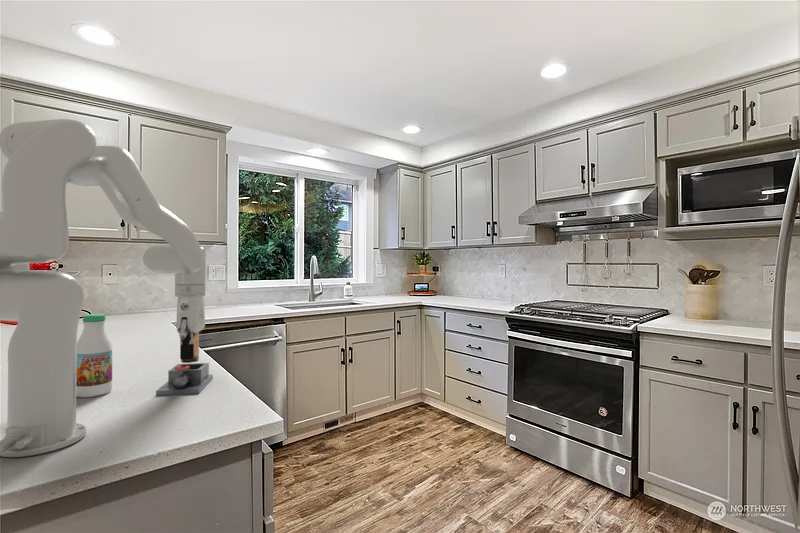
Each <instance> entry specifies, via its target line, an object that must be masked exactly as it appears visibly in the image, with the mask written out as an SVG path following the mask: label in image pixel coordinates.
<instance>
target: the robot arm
mask: <svg viewBox="0 0 800 533" xmlns="http://www.w3.org/2000/svg"><path fill="white" fill-rule="evenodd" d="M0 151H1V152H2V154H3V155H4V156H5V157H6V159H8V160H7V162H6V164H5V165H4V168H3V172H2V177H1V196H2V211H0V321H7V322H17V323H16V326H15V329H14V330H13V332H12V334H11V338H10V340H9V343H8V348H7V428H4V429H5V430H4V431H5V432H4V433H5V435H4V437H3V438H1V439H0V457H3V458H20V457H21V458H22V457H30V456H36V455H41V454H45V453H49V452H54V451H58V450H59V449H62V448H65V447H69V446H70V445H73V444H75V443H77V442H78V441H80V440H81V439H83V438H84V437H85V436H86V433H87V427H86V426H85V425H84V424H82V423H77V397H76V371H77V342H78V328H79V323H80V318H81V314H82V310H83V306H84V301H85V299H84V298H85V293H84V289H83V287H82V285H81V283H80V282H79V280H77V279H76V278H75V277H73V276H71V275H70V274H67V273H65V272H62V271H56V270H48V269H47V270H46V269H45V270H41V269H40V270H39V269H37V270H36V269H31V268H30V264H45V263H52V262H55V261H59V260H60V259H62V258H64V257H65V256H66V254H67V252H68V250H69V247H70V235H69V227H68V226H69V224H68V214H67V203H66V202H67V201H66V190H67V189H66V188H67V184H71V185H75V186H80V187H81V186H82V187H95V186H98V187H100V188H101V190H102V191H103V193H104V194H105V196H106V197H107V198H108V200H109V201H110V203H111V205H112V206H113V208H114V209H115V211H116V212H117V214H118V216H119V218H121V219H122V221H124V222H125V223H127V224H129V225H131V226H133V227H136V228H138V229H141V230H143V231H146V232H149V233H150V234H154V235H156V236H158V237H159V238H161V239H163V240H164V241H165V242H166V243H159V244H154V245H151V246H150V247H148V248H146V250H145V251H144V253H143V254H142V255H143V256H142V261H143V264H144V266H145V267H146V269H148V270H149V271H151V272H154V273H156V274H174V297H177V304H176V320H175V322H176V332H177V334H178V336H179V344H180V348H179V349H180V353H179V357H180V360H181V359H193V358H194V344H192V342H193V332H194V333H197V332H199V333H200V332H201V331H203V330H204V329H205V327H206V317H205V313H206V312H205V299H204V297H205V296H206V274H207V273H206V271H207V270H206V268H207V266H206V261H207V260H206V259H207V258H206V256H207V254H206V250H205V247H202V246H201V245H200V243H199V240H198V239H197V236H196V235H195V233H194V232H193V230H192V229H191V228H190V227H189V226H188V225H187V224H186V223H185V222H184V221H183V220H182V219H180V218H179V217H177V215H175V214H174V213H172V212H171V211H170V210H168V209H167V208H165V207H164V206H162V204H160V202H159V201H158V199H157V198H156V196H155V194H154V193H153V191H152V189H151V186H150V185H149V184H148V182H147V181H146V180H147V179H146V178H145V177H144V175H143V173H142V171H141V169H140V167H139V166H138V165H137V163H136V161H135V159H134V158H133V156H132V155H131V153H130V152H129V151H127V150H126V149H124V148H122V147H120V146H115V145H97V137H96V133H95V132H94V131H93V129H92V127H90V125H89V126H88V125H87V124H86V123H84V122H82V121H80V120H76V119H68V118H67V119H66V118H64V119H63V118H59V119H45V120H44V119H43V120H37V121H36V120H35V121H33V120H32V121H22V122H16V123H11V124H9V125H7V126H5V127H3V129H1V131H0ZM186 331H191V332H190V333H186ZM187 335H190V338H189V336H187Z"/></svg>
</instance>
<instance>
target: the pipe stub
mask: <svg viewBox="0 0 800 533" xmlns="http://www.w3.org/2000/svg"><path fill="white" fill-rule="evenodd" d="M190 332H191V331H186V333H190ZM187 336H189V338H190V335H187ZM192 344H194V358H193V359H180V362H181V364H189V363H198V362H199V360H200V331H199V332H197V333H194V332H193V342H192Z"/></svg>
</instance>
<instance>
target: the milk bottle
mask: <svg viewBox="0 0 800 533" xmlns="http://www.w3.org/2000/svg"><path fill="white" fill-rule="evenodd" d="M105 323H106V314H104V313H92V314H91V313H90V314H85V315H84V314H83V315H82V324H83V329H82V332H81V335H80V336H79V337H78V339H77V371H76V398H93V397H98V396H102V395H106V394H109V393H110V392H111V391H112V389H113V345H112V344H113V343H112V341H111V338H110V336H109V335H108V332H107V330H106V328H105V327H106V326H105Z"/></svg>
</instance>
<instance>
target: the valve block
mask: <svg viewBox="0 0 800 533" xmlns="http://www.w3.org/2000/svg"><path fill="white" fill-rule="evenodd" d="M209 368H210V363H209V362H192V363H177V364H176V365H175V366H174V367H172V368H170V369H169V370H168V373H167V375H168V380H167V381H166V382H165V383H164V384H163V385H161V386H160V387H159V388H158V389H156V390H155V396H157V395H159V396H175V395H176V396H178V395H179V396H180V395H198V394H201V392H202V391H203V390H204V389H206V387H207V385H209V384H210V382H212V380H213V377H214V374H212V373H211V374H209V371H210V370H209ZM205 386H206V387H205Z"/></svg>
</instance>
